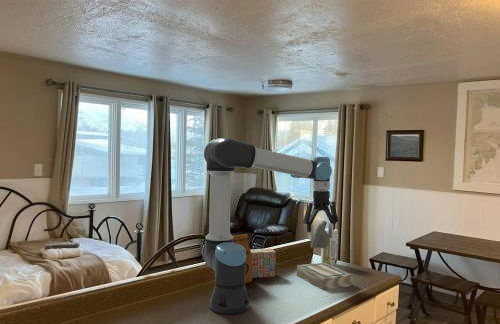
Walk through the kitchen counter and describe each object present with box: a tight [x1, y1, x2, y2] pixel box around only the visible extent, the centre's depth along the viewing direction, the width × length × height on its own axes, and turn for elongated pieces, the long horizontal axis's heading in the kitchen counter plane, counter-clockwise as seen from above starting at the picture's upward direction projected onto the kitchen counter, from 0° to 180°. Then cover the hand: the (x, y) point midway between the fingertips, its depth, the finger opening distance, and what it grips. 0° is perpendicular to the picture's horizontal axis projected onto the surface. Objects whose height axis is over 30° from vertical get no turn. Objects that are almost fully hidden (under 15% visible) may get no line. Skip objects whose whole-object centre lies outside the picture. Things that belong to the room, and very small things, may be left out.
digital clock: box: [309, 220, 329, 249], centre depth 185 cm, size 16×9×11 cm, turn 151°
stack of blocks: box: [250, 248, 277, 279], centre depth 193 cm, size 21×6×12 cm, turn 107°
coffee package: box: [232, 233, 253, 284], centre depth 182 cm, size 10×12×22 cm
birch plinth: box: [296, 262, 353, 291], centre depth 189 cm, size 16×22×5 cm
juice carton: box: [320, 227, 339, 267], centre depth 216 cm, size 8×9×19 cm
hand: (320, 238), depth 185 cm, fingers closed on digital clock, 10 cm apart
